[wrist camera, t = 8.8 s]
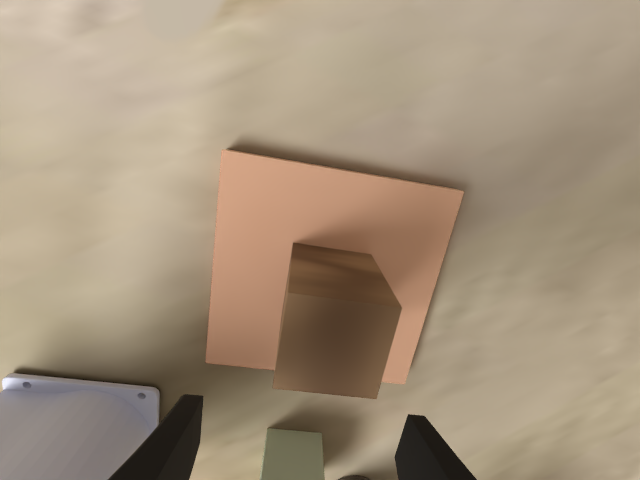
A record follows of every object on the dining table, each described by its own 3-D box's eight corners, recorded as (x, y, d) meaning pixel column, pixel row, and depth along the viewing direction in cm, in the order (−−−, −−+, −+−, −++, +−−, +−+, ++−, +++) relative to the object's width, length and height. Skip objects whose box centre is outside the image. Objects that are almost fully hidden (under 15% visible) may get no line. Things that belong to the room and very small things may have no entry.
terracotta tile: (209, 352, 21) (205, 362, 20) (226, 148, 17) (221, 149, 16) (400, 373, 22) (404, 384, 21) (455, 188, 18) (464, 191, 17)
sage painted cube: (261, 467, 24) (253, 528, 20) (267, 427, 23) (260, 484, 19) (312, 471, 25) (314, 532, 21) (321, 432, 23) (325, 489, 20)
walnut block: (281, 313, 19) (272, 388, 13) (293, 242, 18) (287, 292, 12) (355, 322, 19) (376, 399, 14) (371, 254, 18) (402, 308, 12)
